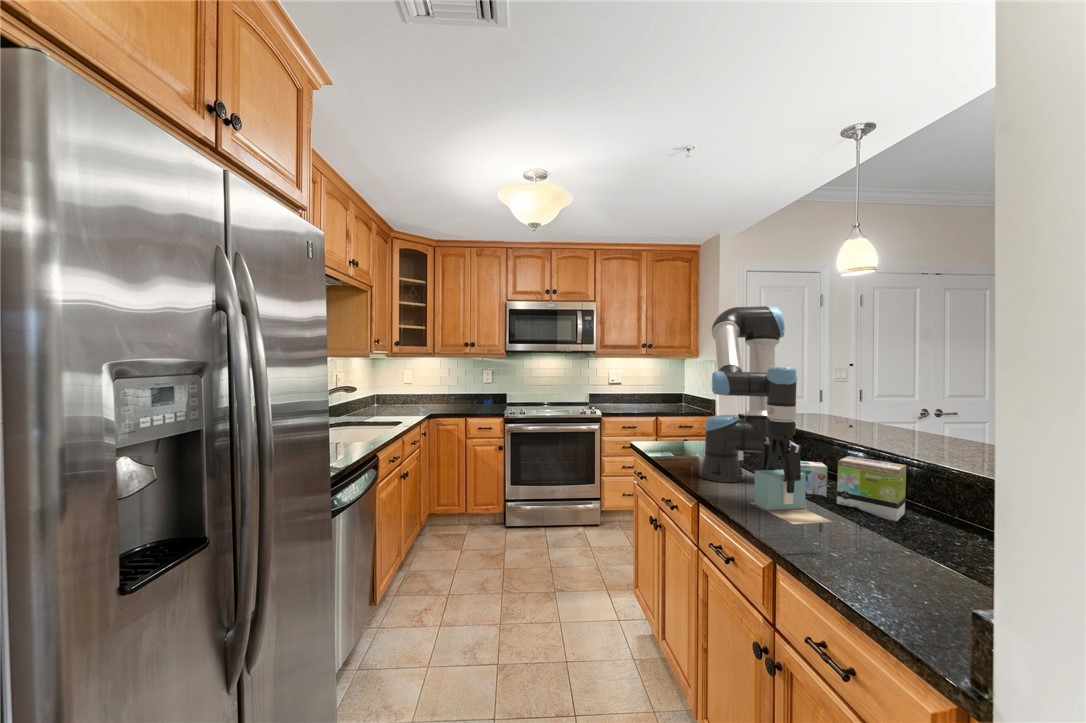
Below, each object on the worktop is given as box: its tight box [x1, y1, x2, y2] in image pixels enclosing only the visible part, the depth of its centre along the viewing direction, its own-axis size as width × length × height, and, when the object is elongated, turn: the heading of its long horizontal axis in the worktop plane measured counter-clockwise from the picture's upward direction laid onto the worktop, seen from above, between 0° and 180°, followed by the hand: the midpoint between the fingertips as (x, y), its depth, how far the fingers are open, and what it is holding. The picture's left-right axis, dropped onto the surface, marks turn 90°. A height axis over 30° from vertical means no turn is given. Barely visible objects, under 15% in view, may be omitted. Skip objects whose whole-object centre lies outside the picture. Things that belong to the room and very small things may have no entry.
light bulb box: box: [800, 460, 828, 498], centre depth 151 cm, size 11×7×11 cm, turn 74°
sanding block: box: [753, 469, 806, 512], centre depth 133 cm, size 6×12×10 cm, turn 101°
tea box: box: [836, 455, 907, 522], centre depth 135 cm, size 15×10×15 cm
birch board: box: [750, 502, 834, 525], centre depth 129 cm, size 18×12×2 cm, turn 11°
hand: (779, 499), depth 133 cm, fingers closed on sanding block, 6 cm apart
